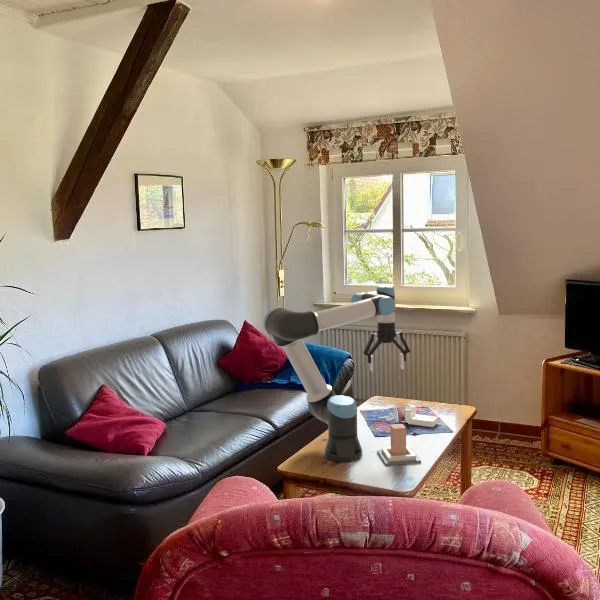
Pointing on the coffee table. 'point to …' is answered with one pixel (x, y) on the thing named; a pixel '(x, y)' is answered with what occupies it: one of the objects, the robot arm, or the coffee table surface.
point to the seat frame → (398, 457)
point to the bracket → (419, 418)
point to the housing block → (398, 439)
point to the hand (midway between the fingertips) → (387, 369)
